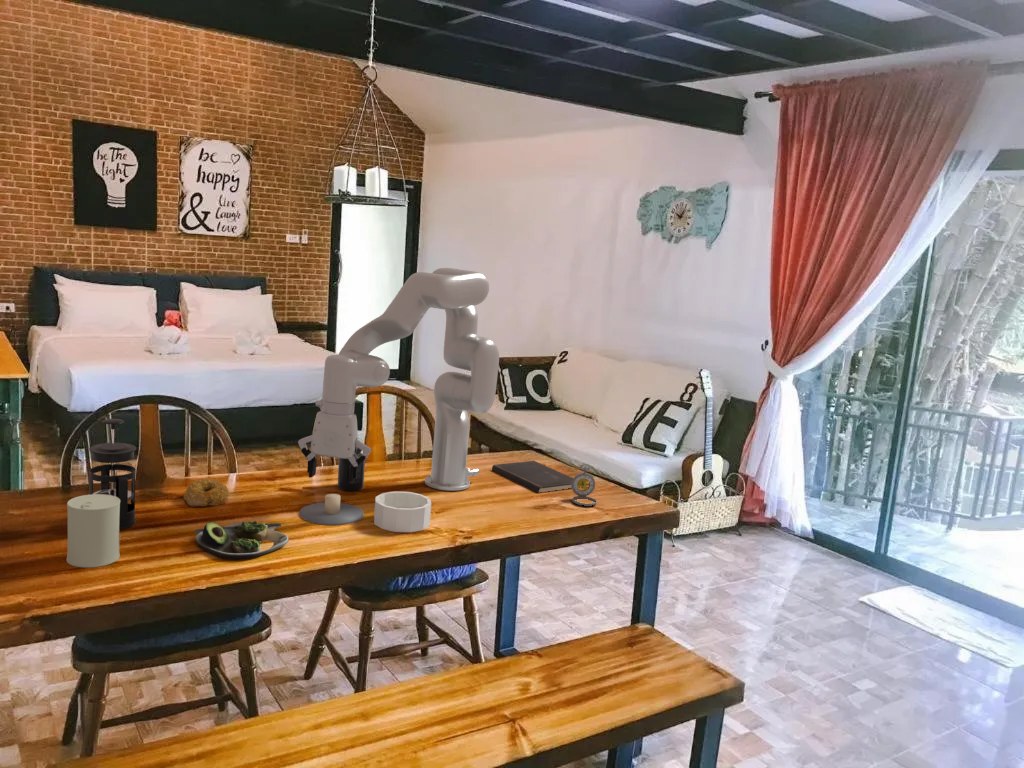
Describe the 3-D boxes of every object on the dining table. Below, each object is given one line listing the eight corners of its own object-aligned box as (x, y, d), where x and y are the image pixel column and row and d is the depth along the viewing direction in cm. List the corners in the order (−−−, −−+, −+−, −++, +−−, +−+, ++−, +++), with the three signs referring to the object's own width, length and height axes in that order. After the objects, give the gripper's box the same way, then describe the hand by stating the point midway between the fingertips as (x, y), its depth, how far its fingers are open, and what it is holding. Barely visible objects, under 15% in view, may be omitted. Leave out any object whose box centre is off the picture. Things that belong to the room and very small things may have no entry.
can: (57, 566, 153) (57, 505, 151) (78, 547, 162) (79, 490, 160) (109, 569, 154) (109, 508, 152) (127, 550, 163) (127, 493, 161)
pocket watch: (584, 508, 217) (588, 472, 216) (562, 499, 223) (566, 464, 222) (605, 504, 223) (609, 469, 221) (583, 495, 229) (587, 461, 227)
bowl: (409, 510, 203) (411, 488, 202) (439, 526, 193) (441, 504, 192) (363, 517, 194) (365, 495, 193) (393, 535, 185) (394, 512, 184)
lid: (343, 502, 205) (344, 483, 204) (375, 520, 194) (376, 500, 193) (288, 510, 195) (289, 491, 194) (318, 530, 184) (319, 509, 183)
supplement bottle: (366, 485, 219) (369, 442, 217) (359, 493, 212) (362, 448, 210) (341, 482, 219) (344, 439, 217) (333, 489, 213) (336, 445, 210)
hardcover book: (533, 467, 254) (534, 460, 254) (581, 489, 236) (582, 482, 236) (491, 472, 245) (492, 464, 245) (538, 495, 227) (538, 487, 227)
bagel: (173, 504, 191) (174, 484, 190) (201, 492, 202) (202, 473, 201) (210, 512, 189) (211, 492, 188) (237, 499, 200) (238, 480, 199)
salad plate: (257, 521, 186) (258, 502, 186) (309, 543, 176) (310, 523, 176) (180, 541, 171) (181, 520, 170) (233, 567, 161) (233, 545, 160)
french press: (80, 519, 176) (80, 416, 172) (125, 512, 183) (127, 412, 179) (99, 536, 168) (100, 428, 164) (145, 528, 175) (147, 424, 171)
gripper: (296, 406, 187) (290, 478, 189) (370, 415, 186) (363, 487, 188) (306, 400, 194) (301, 470, 197) (377, 409, 193) (371, 479, 196)
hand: (332, 478), depth 193 cm, fingers open, 9 cm apart
